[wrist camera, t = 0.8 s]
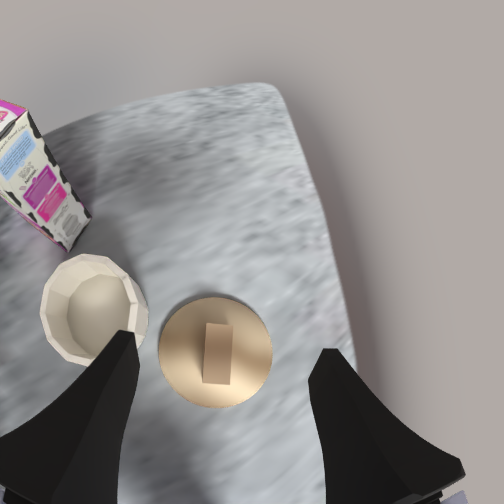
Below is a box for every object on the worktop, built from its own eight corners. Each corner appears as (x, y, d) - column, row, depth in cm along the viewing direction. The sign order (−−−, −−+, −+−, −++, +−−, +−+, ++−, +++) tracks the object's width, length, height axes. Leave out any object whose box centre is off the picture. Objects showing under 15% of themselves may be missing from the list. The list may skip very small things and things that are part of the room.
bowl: (143, 370, 23) (131, 375, 18) (60, 352, 22) (35, 351, 17) (154, 277, 26) (144, 261, 22) (73, 265, 25) (52, 249, 20)
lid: (267, 407, 24) (277, 415, 21) (157, 400, 23) (151, 408, 19) (272, 303, 28) (282, 297, 24) (165, 293, 26) (160, 285, 23)
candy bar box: (95, 215, 27) (30, 106, 12) (70, 254, 25) (-22, 166, 10) (38, 179, 27) (-22, 87, 12) (15, 211, 25) (-58, 130, 10)
